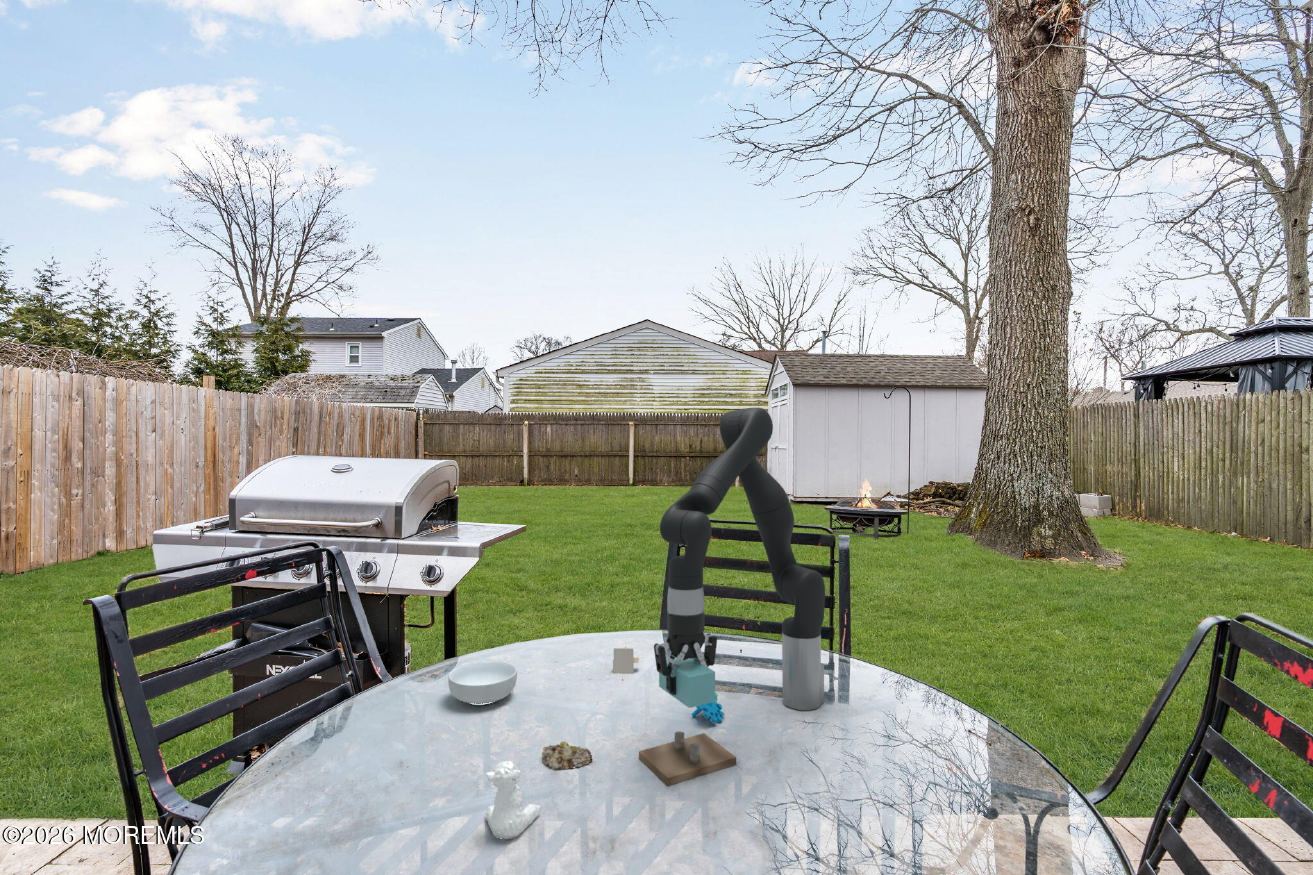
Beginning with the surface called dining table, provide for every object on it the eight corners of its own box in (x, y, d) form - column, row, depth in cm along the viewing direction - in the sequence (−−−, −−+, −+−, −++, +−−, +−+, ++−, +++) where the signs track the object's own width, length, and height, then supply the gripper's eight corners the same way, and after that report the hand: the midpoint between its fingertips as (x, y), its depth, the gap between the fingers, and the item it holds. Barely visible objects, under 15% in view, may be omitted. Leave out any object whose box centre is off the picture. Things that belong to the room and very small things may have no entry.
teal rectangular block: (683, 681, 143) (683, 653, 143) (715, 701, 132) (715, 671, 132) (659, 686, 140) (659, 658, 140) (689, 708, 130) (689, 677, 129)
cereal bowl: (508, 714, 159) (507, 685, 159) (439, 714, 160) (438, 685, 160) (524, 686, 176) (523, 659, 176) (461, 686, 177) (460, 659, 177)
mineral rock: (534, 759, 134) (547, 731, 141) (536, 777, 135) (548, 748, 143) (586, 765, 132) (596, 736, 140) (587, 783, 133) (597, 753, 141)
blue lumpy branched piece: (715, 724, 149) (688, 686, 153) (697, 740, 151) (670, 701, 155) (733, 712, 159) (707, 676, 163) (716, 727, 160) (690, 691, 164)
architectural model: (614, 670, 188) (614, 644, 188) (639, 670, 188) (639, 644, 187) (613, 675, 185) (612, 648, 184) (638, 675, 184) (637, 648, 184)
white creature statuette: (541, 813, 119) (540, 746, 119) (534, 843, 111) (533, 772, 110) (487, 814, 119) (486, 747, 119) (476, 845, 110) (475, 773, 110)
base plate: (704, 739, 146) (703, 719, 146) (736, 764, 135) (736, 742, 135) (638, 758, 138) (638, 736, 138) (667, 785, 127) (667, 762, 127)
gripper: (705, 599, 143) (705, 677, 143) (645, 608, 136) (646, 690, 136) (725, 607, 136) (725, 689, 136) (664, 618, 129) (664, 704, 130)
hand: (686, 690), depth 136 cm, fingers closed on teal rectangular block, 6 cm apart
